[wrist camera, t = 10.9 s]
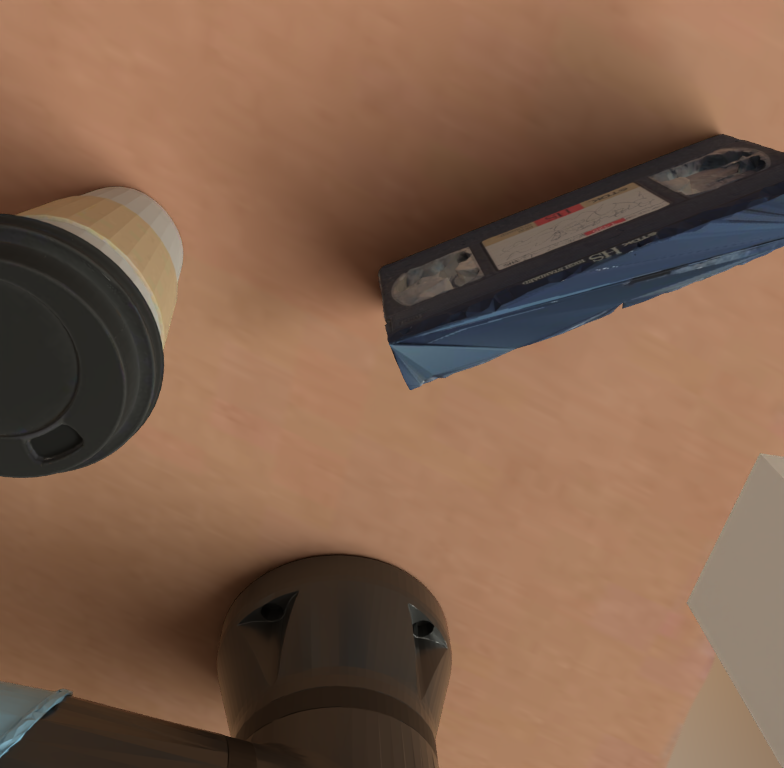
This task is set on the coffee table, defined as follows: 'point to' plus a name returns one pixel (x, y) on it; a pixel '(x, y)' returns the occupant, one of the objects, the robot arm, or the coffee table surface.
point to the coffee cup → (82, 326)
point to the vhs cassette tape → (583, 256)
